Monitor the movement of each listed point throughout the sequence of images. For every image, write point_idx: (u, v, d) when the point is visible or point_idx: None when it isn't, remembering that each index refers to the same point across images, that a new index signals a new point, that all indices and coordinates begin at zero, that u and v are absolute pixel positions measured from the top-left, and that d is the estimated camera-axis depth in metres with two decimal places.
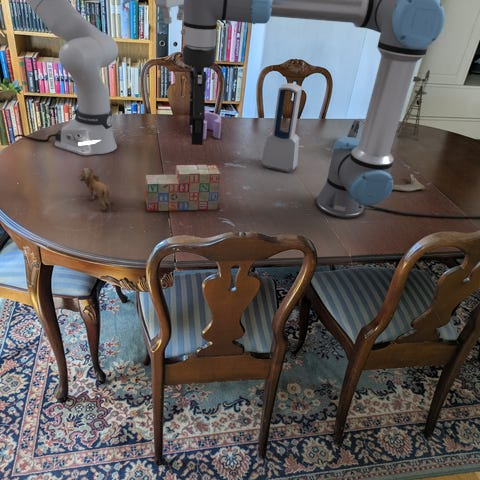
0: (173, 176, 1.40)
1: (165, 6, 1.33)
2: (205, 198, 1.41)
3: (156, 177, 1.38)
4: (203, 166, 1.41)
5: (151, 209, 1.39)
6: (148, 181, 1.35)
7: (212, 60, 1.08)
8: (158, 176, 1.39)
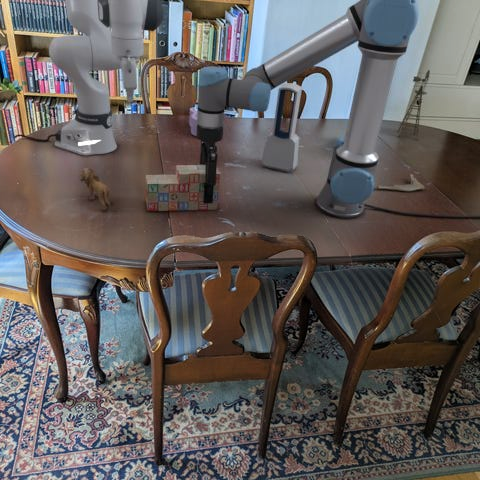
0: (173, 176, 1.40)
1: None
2: None
3: (156, 177, 1.38)
4: (203, 166, 1.41)
5: (151, 209, 1.39)
6: (148, 181, 1.35)
7: None
8: (159, 176, 1.39)
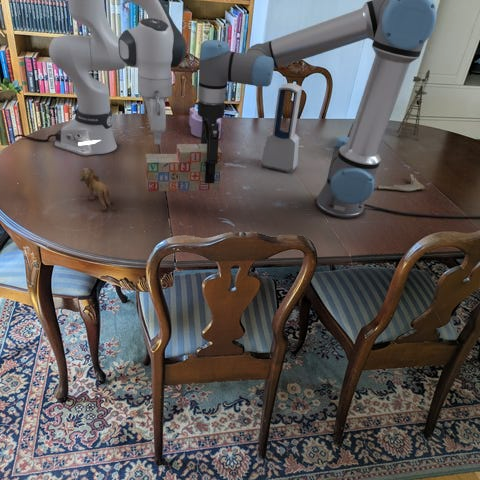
0: (174, 155, 1.36)
1: None
2: None
3: (156, 156, 1.34)
4: (204, 145, 1.37)
5: (151, 189, 1.35)
6: (148, 160, 1.32)
7: None
8: (159, 155, 1.35)
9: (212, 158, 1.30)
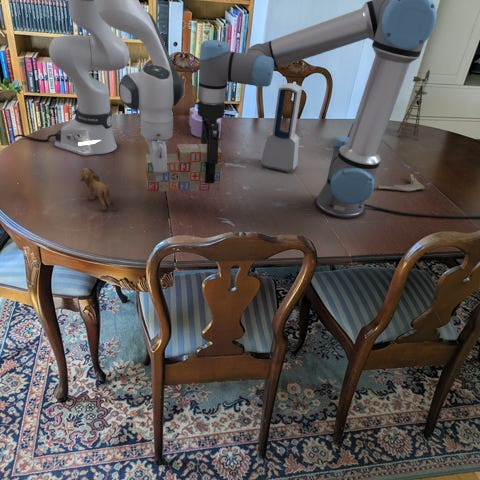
0: (174, 155, 1.36)
1: None
2: None
3: None
4: (205, 145, 1.37)
5: (151, 189, 1.35)
6: (148, 160, 1.32)
7: None
8: None
9: (212, 158, 1.30)
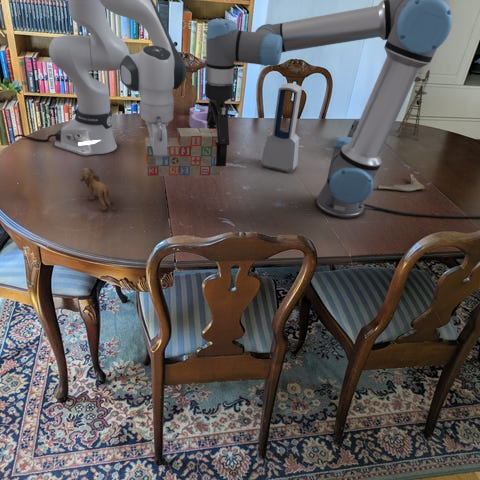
0: (174, 139, 1.34)
1: None
2: (207, 162, 1.35)
3: None
4: (205, 129, 1.35)
5: (151, 174, 1.33)
6: (148, 143, 1.29)
7: None
8: None
9: (223, 138, 1.25)
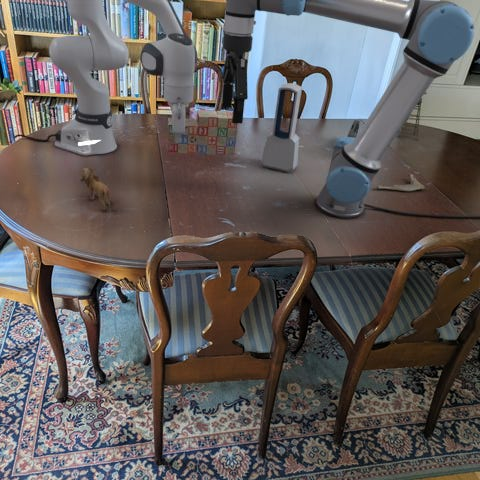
0: (194, 120, 1.46)
1: None
2: (222, 142, 1.47)
3: None
4: (223, 112, 1.47)
5: (171, 150, 1.46)
6: (169, 122, 1.43)
7: None
8: None
9: (241, 91, 1.19)
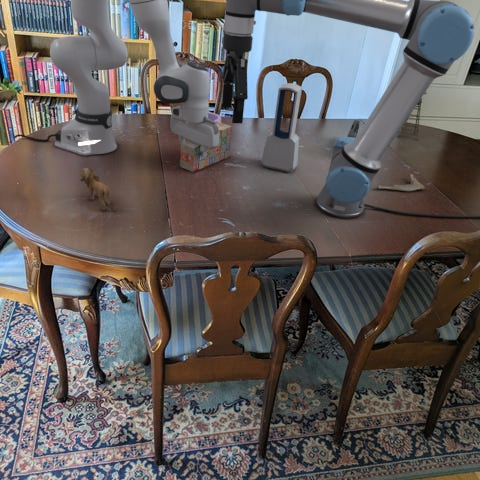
0: None
1: None
2: (223, 149, 1.74)
3: (190, 142, 1.64)
4: None
5: (194, 169, 1.65)
6: (191, 146, 1.61)
7: None
8: (190, 141, 1.65)
9: (241, 91, 1.19)
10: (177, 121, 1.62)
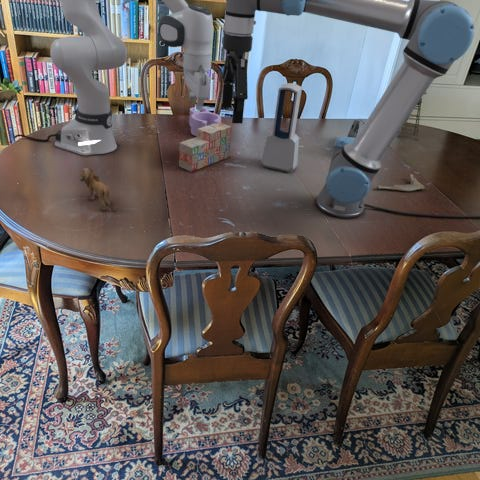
0: (198, 138, 1.67)
1: None
2: (223, 149, 1.74)
3: (189, 142, 1.64)
4: (214, 124, 1.72)
5: (193, 169, 1.65)
6: (189, 146, 1.61)
7: None
8: (189, 140, 1.65)
9: (241, 91, 1.19)
10: (187, 71, 1.56)
